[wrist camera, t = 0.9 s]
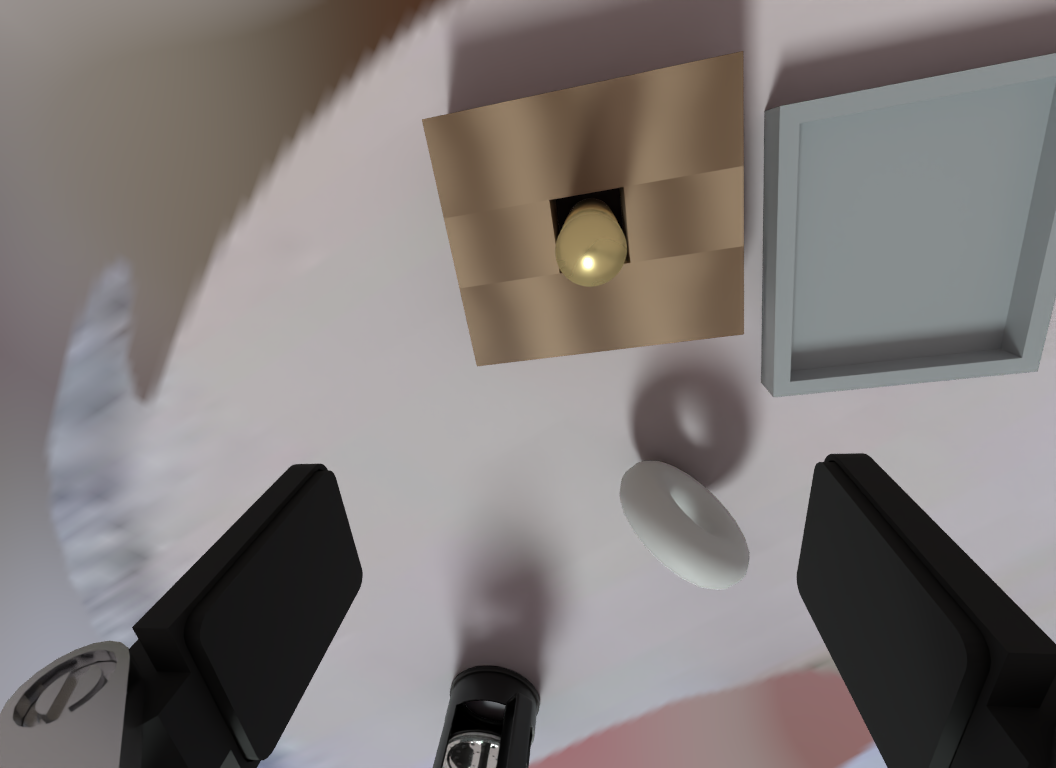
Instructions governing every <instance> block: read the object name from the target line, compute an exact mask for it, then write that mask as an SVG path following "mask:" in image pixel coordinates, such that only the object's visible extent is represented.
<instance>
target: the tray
mask: <svg viewBox="0 0 1056 768" xmlns="http://www.w3.org/2000/svg"><path fill="white" fill-rule="evenodd" d="M1055 298H1056V53H1053V54H1048V55H1043V56H1038V57H1033V58H1027V59H1022V60H1017V61H1012V62H1007V63H1002V64H996V65H991V66H986V67H981V68H976V69H970V70H965V71H960V72H955V73H950V74H944V75H939V76H934V77H929V78H924V79H919V80H913V81H908V82H903V83H898V84H893V85H887V86H882V87H877V88H872V89H867V90H861V91H856V92H851V93H846V94H841V95H835V96H830V97H825V98H820V99H815V100H810V101H804V102H799V103H794V104H789V105H784V106H779V107H776V108H773V109H770V110H767V111H765V122H764V202H763V282H762V362H761V383H762V384H763V385H764V386H765V388H766V389H767V390H768V391H769V393H770V394H771V395H772V396H773V397H782V396H793V395H803V394H813V393H823V392H833V391H843V390H854V389H864V388H874V387H884V386H894V385H905V384H915V383H925V382H935V381H945V380H956V379H966V378H976V377H986V376H996V375H1006V374H1017V373H1027V372H1037V371H1038V368H1039V364H1040V360H1041V356H1042V351H1043V347H1044V343H1045V339H1046V335H1047V331H1048V327H1049V323H1050V318H1051V314H1052V310H1053V306H1054V302H1055Z"/></svg>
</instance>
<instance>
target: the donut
mask: <svg viewBox="0 0 1056 768" xmlns="http://www.w3.org/2000/svg"><path fill="white" fill-rule="evenodd" d="M620 501H621V505H622V508H623V512H624V515H625V517H626V519H627V520H628V522H629V524H630V526H631V528H632V530H633V531H634V533H635V534H636V535H637V537H638V538H639V539H640V540H641V542H642V543H643V544H644V546H645V547H646V548H647V549H648V550H649V551H650V552H651V553H652V554H653V555H654V556H655V557H656V558H657V559H658V560H659V561H660V562H661V563H662V564H663V565H664V566H665V567H666V568H668V569H669V570H671V571H672V572H673V573H675V574H676V575H677V576H679V577H680V578H681V579H683V580H685V581H687V582H690V583H692V584H694V585H696V586H698V587H702V588H707V589H714V590H723V589H727V588H729V587H730V586H732V585H734V584H736V583H738V582H740V581H741V580H742V579H743V577H744V576H745V575H746V572H747V568H748V564H749V550H748V546H747V543H746V540H745V537H744V535H743V533H742V532H741V530H740V528H739V526H738V525H737V523H736V521H735V520H734V518H733V517H732V516H731V514H730V513H729V512H728V510H727V509H726V508H725V507H724V506H723V505H722V504H721V502H720V501H719V500H718V499H717V498H716V497H715V496H714V495H713V494H712V493H711V492H710V491H709V490H707V489H706V488H705V487H704V486H703V485H702V484H701V483H699V482H698V481H697V480H695V479H694V478H693V477H691V476H690V475H688V474H687V473H685V472H683V471H682V470H680V469H678V468H676V467H674V466H672V465H669V464H666V463H664V462H661V461H642V462H639V463H637V464H635V465H634V466H633V467H631V468H630V469H629V470H628V471H627V472H626V473H625V474H624V476H623V478H622V481H621V487H620Z"/></svg>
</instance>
